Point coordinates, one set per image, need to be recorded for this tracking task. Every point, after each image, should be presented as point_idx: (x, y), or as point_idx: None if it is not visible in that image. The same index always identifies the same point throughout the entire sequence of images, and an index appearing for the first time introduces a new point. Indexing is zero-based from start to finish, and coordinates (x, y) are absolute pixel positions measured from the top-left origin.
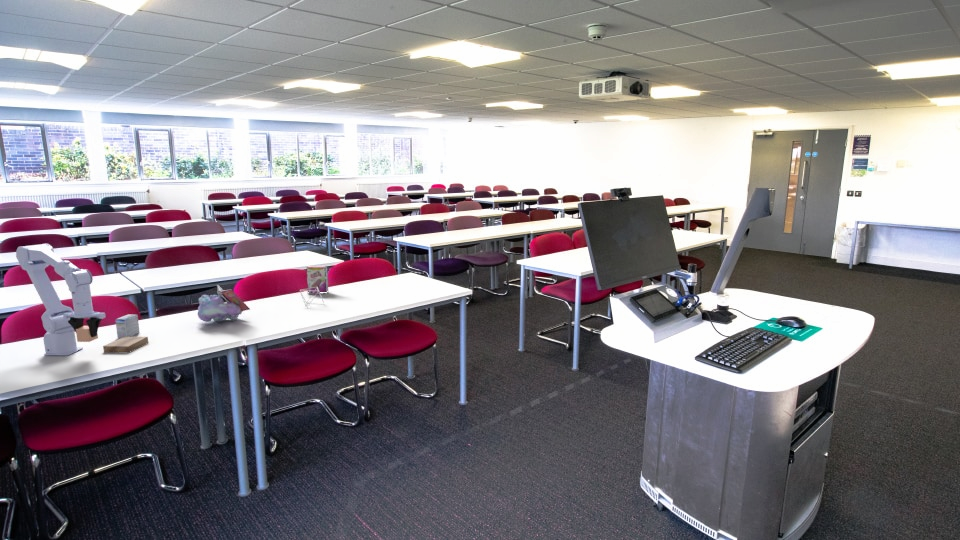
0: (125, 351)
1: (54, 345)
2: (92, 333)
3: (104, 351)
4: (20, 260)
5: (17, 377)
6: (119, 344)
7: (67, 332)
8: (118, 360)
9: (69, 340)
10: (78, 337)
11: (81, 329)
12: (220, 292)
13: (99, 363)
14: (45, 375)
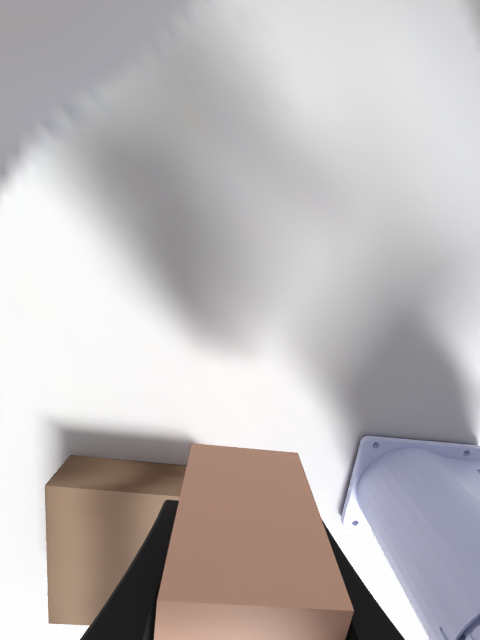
0: (87, 461)
1: (473, 492)
2: (146, 538)
3: None
4: None
5: (461, 111)
6: (125, 519)
7: (471, 617)
8: (42, 339)
9: (411, 537)
10: (293, 486)
11: (260, 600)
12: None
13: (121, 301)
14: (317, 124)
